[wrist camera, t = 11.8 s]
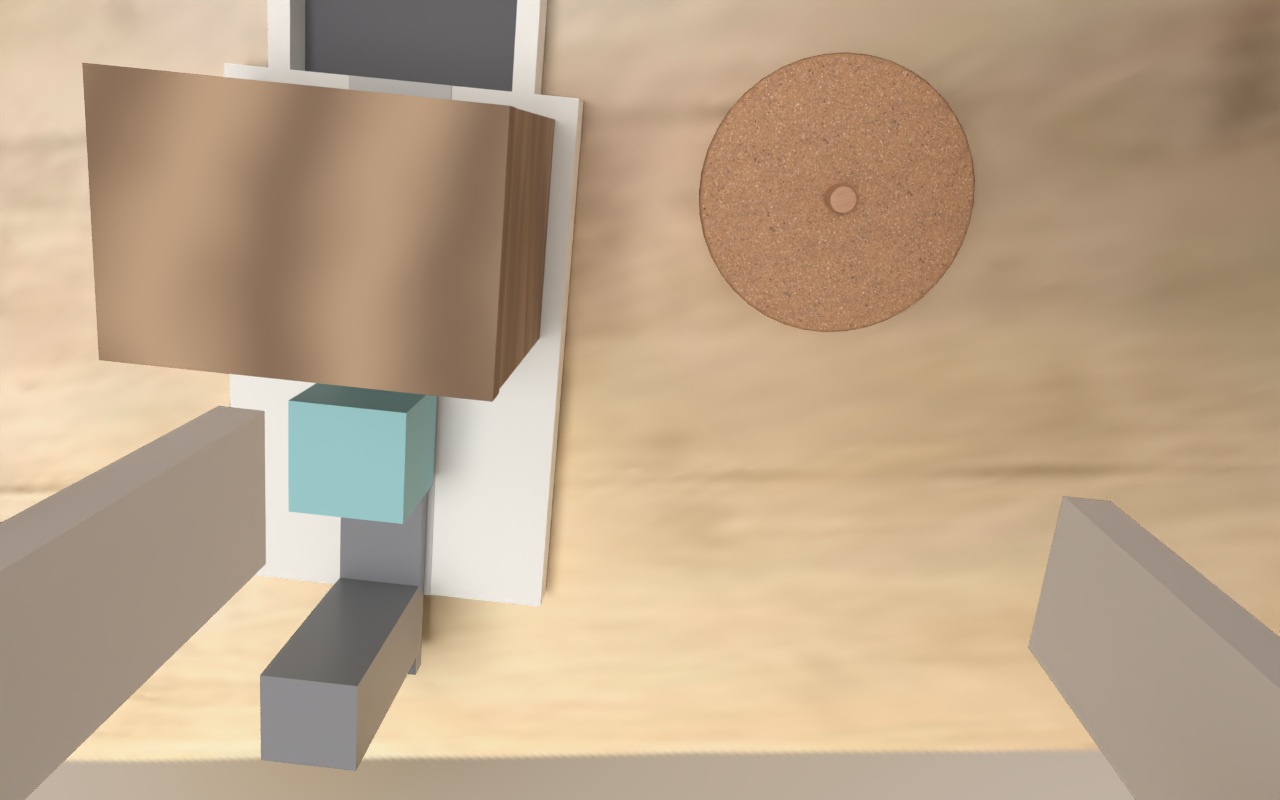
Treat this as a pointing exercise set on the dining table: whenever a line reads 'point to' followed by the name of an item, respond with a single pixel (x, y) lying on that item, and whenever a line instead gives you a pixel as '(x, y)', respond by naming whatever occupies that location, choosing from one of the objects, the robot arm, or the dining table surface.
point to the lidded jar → (836, 192)
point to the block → (360, 452)
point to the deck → (530, 398)
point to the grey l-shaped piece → (349, 649)
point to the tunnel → (315, 231)
